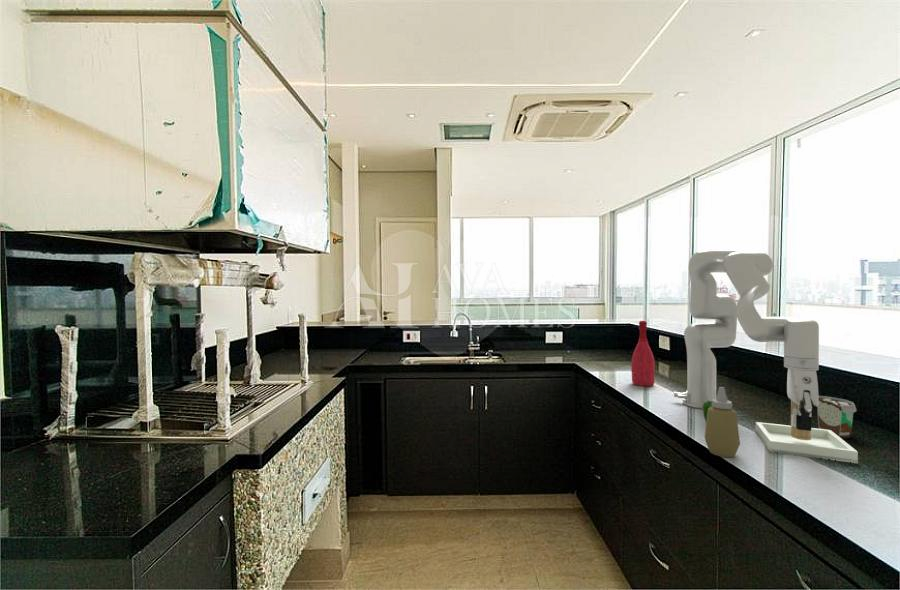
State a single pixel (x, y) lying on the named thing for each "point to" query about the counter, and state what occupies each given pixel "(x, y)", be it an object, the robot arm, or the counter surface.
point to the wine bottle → (643, 360)
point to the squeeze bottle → (722, 427)
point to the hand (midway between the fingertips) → (800, 426)
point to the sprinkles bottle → (794, 431)
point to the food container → (836, 415)
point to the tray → (806, 443)
